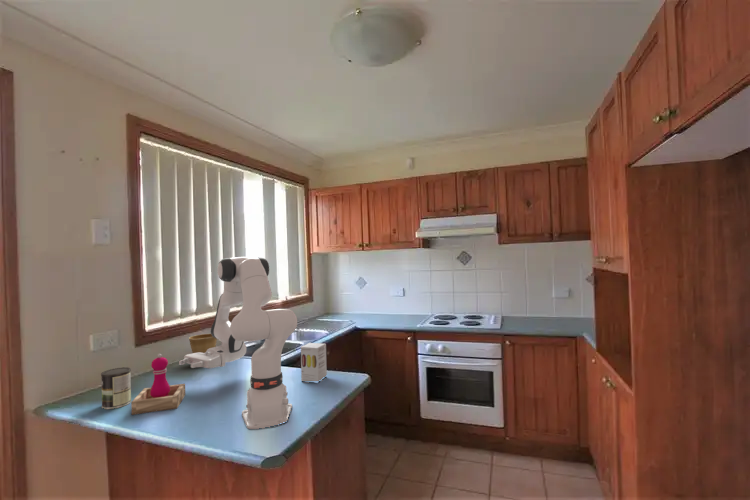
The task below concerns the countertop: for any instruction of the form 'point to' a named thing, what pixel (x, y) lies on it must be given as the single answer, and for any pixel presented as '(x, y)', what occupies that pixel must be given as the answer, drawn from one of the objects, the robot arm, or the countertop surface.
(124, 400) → the coffee can
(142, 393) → the crate
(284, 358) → the countertop surface
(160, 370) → the pepper mill
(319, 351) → the supplement box
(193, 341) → the plant pot
